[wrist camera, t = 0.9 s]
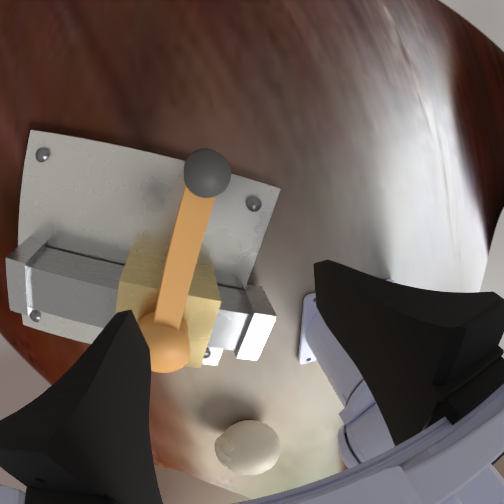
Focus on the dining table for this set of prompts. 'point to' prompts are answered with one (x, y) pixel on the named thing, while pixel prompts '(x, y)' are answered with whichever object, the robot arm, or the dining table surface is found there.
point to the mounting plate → (130, 213)
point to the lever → (183, 260)
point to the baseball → (248, 447)
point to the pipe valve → (137, 297)
